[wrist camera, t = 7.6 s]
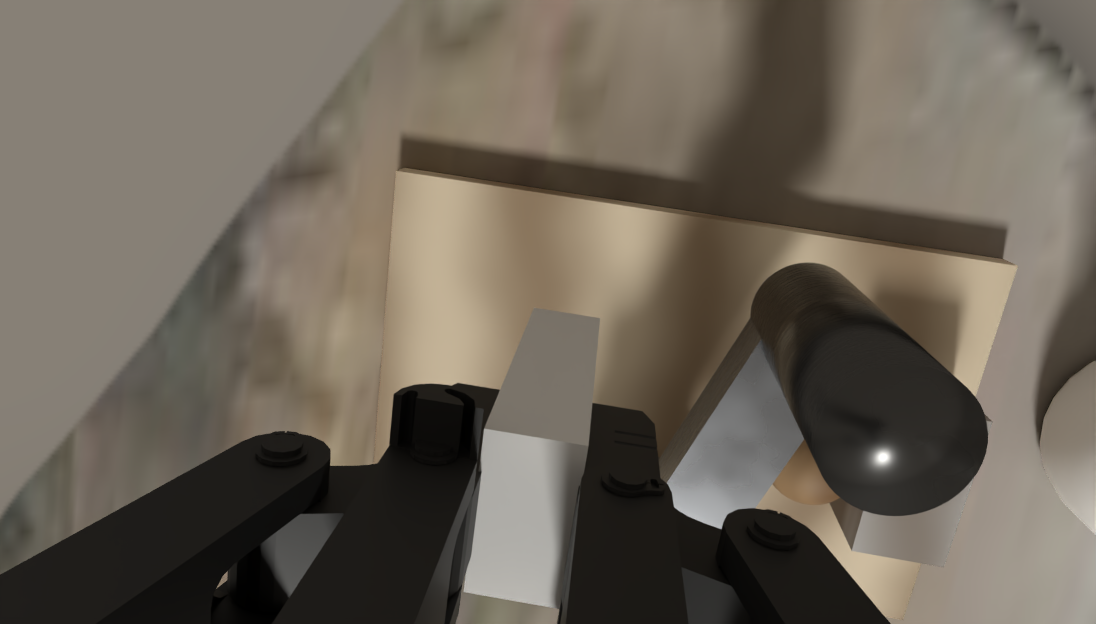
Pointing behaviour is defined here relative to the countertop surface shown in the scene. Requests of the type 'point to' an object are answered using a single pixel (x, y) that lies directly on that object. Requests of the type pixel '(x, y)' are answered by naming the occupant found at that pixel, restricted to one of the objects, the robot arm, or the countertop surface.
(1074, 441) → the bottle
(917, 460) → the lever
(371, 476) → the robot arm
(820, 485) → the brown ball
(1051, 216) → the countertop surface
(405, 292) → the board
